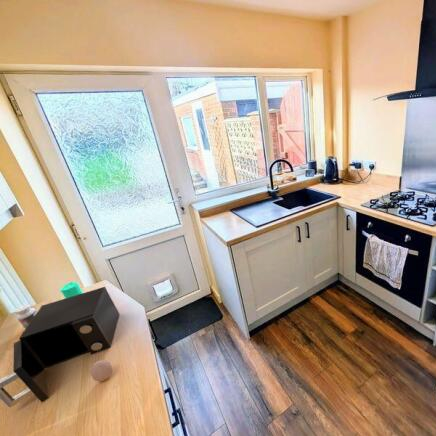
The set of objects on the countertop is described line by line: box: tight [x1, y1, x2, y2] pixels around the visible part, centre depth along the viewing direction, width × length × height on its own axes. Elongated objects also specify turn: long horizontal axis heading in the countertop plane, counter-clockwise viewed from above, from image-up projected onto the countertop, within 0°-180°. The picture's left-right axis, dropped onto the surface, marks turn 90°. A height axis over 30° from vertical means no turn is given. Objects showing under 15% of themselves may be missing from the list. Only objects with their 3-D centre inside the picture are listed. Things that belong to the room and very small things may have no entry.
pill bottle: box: [15, 304, 38, 330], centre depth 100 cm, size 5×5×10 cm
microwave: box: [18, 286, 121, 370], centre depth 89 cm, size 18×20×15 cm
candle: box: [60, 281, 84, 299], centre depth 109 cm, size 6×6×12 cm
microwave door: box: [0, 339, 50, 408], centre depth 73 cm, size 7×14×15 cm, turn 47°
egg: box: [90, 359, 113, 382], centre depth 77 cm, size 5×5×7 cm
